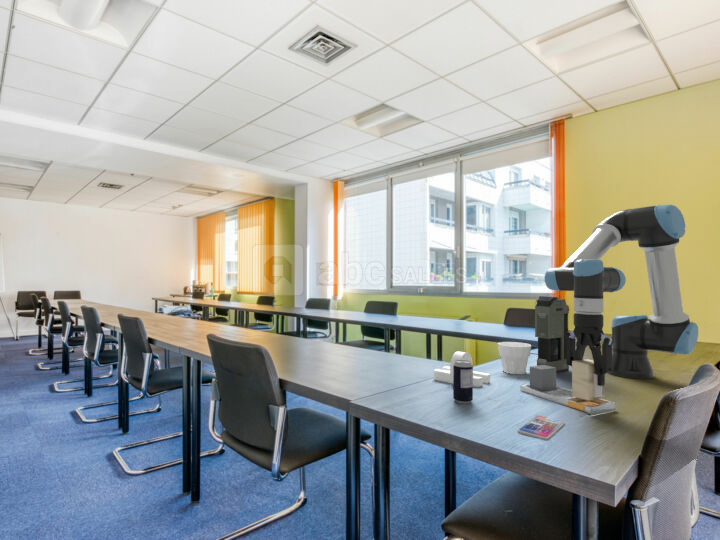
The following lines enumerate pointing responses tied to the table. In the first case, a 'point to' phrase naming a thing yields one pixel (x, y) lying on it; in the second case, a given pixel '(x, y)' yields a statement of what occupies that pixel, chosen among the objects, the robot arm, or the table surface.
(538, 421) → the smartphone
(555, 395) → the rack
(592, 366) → the panel block
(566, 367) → the device
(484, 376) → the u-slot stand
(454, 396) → the beverage can
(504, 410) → the table surface
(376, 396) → the table surface
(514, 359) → the cup
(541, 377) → the blank block
